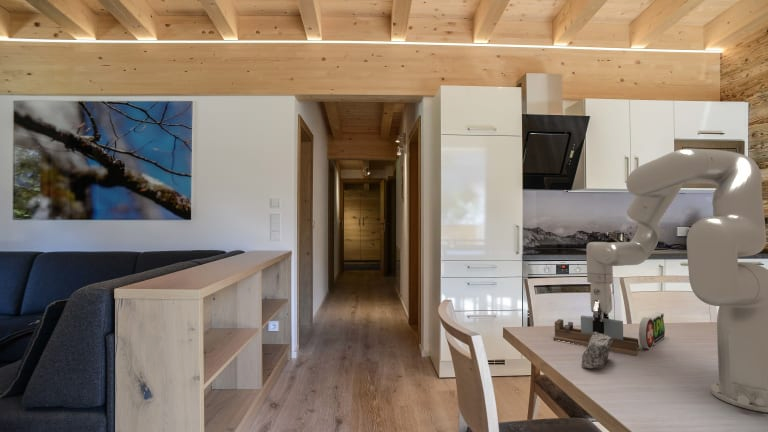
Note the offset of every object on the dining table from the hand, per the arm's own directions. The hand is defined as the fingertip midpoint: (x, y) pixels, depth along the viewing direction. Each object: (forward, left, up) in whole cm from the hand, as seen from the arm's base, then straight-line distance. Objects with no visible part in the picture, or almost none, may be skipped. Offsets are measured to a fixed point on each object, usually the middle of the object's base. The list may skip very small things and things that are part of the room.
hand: (601, 329), depth 121 cm
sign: (+13, -13, -6) cm, 19 cm away
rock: (-20, -2, -5) cm, 21 cm away
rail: (0, +2, -5) cm, 6 cm away
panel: (0, 0, -4) cm, 4 cm away
